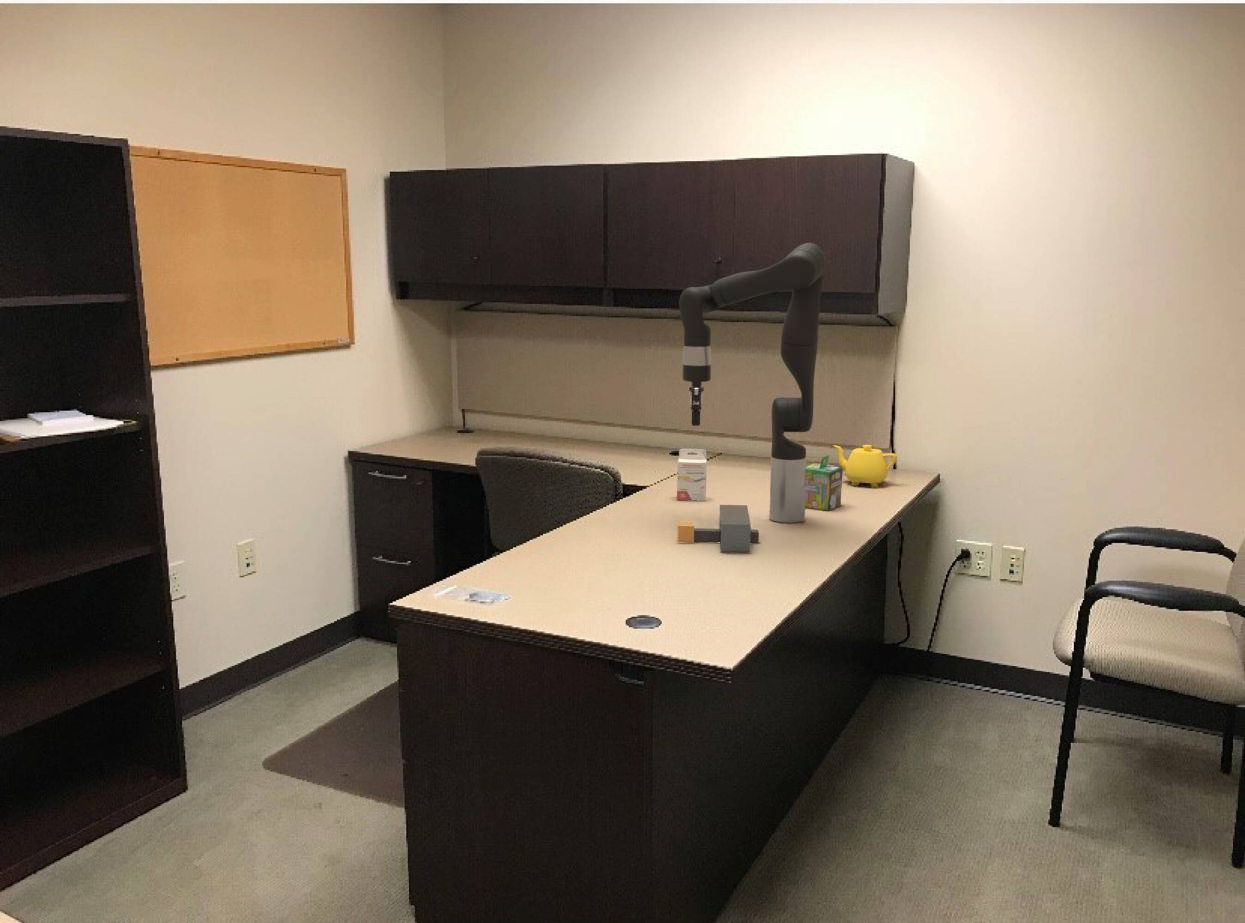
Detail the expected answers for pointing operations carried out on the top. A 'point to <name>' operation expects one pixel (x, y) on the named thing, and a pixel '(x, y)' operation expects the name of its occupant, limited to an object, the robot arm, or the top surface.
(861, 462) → the teapot
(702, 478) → the ink cartridge box
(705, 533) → the plug
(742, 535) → the mallet head
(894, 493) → the top surface
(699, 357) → the robot arm
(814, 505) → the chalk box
